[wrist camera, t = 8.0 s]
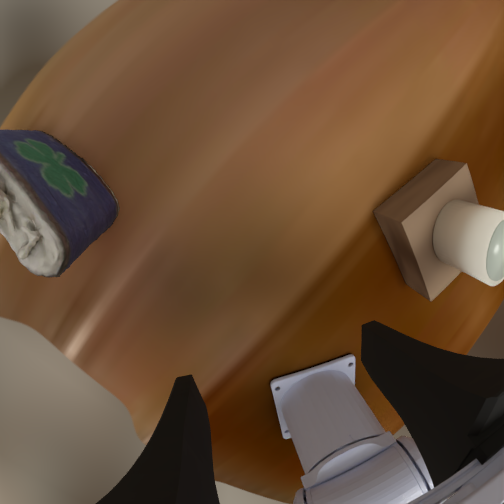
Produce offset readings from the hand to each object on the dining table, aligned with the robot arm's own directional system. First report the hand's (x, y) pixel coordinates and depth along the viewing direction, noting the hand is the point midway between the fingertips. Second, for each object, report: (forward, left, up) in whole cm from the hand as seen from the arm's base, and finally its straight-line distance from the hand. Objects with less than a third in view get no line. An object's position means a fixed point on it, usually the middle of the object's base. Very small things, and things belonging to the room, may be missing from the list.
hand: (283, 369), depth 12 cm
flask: (+10, +10, -11) cm, 18 cm away
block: (0, -16, -11) cm, 19 cm away
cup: (0, -16, -7) cm, 17 cm away
